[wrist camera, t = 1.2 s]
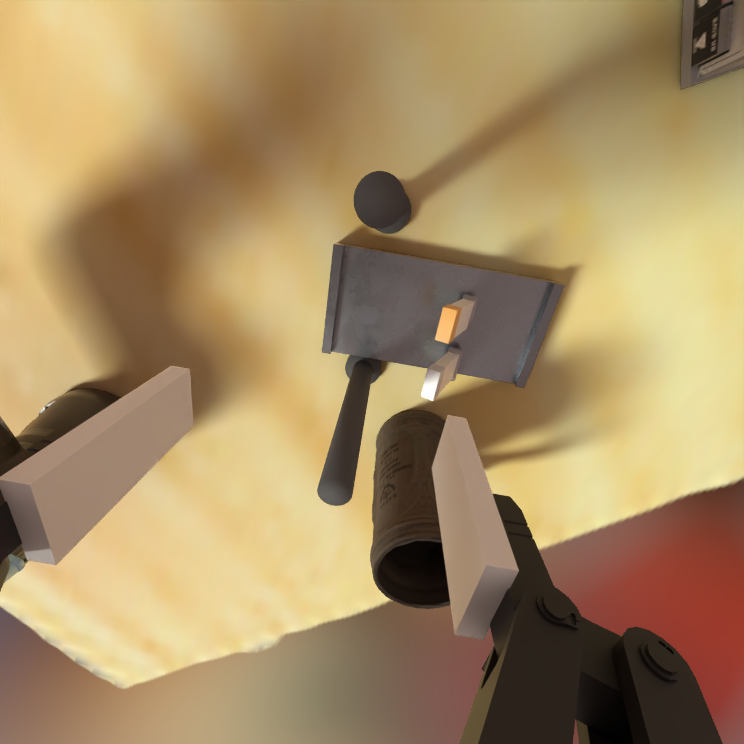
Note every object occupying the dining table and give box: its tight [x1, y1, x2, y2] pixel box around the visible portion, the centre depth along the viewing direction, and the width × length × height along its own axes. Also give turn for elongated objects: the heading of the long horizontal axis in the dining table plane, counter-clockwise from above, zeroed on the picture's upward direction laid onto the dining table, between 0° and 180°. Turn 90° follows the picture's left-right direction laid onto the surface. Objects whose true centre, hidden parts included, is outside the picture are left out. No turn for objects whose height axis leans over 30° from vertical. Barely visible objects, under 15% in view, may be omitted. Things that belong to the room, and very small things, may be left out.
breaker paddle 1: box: [435, 294, 479, 344], centre depth 34 cm, size 2×4×8 cm, turn 171°
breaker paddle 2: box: [421, 346, 463, 401], centre depth 37 cm, size 2×4×8 cm, turn 171°
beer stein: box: [370, 410, 451, 609], centre depth 39 cm, size 15×11×20 cm
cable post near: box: [354, 171, 411, 234], centre depth 26 cm, size 4×4×22 cm
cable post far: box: [317, 355, 381, 506], centre depth 33 cm, size 4×4×22 cm
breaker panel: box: [322, 243, 564, 388], centre depth 39 cm, size 24×12×3 cm, turn 81°
